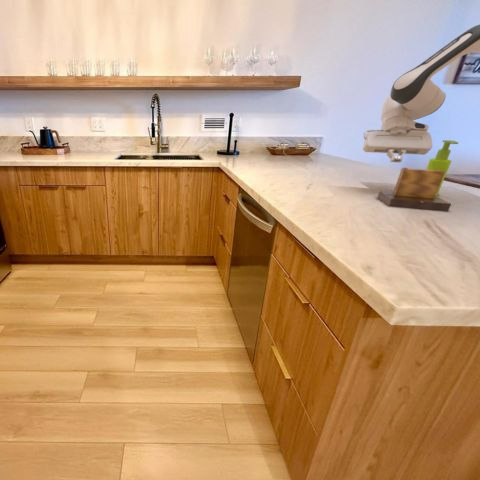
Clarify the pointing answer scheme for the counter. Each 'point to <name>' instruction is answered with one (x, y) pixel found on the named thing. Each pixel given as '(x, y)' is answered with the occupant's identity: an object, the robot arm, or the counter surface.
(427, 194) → the wooden block
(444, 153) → the soap dispenser
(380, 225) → the counter surface
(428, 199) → the dark square slab
